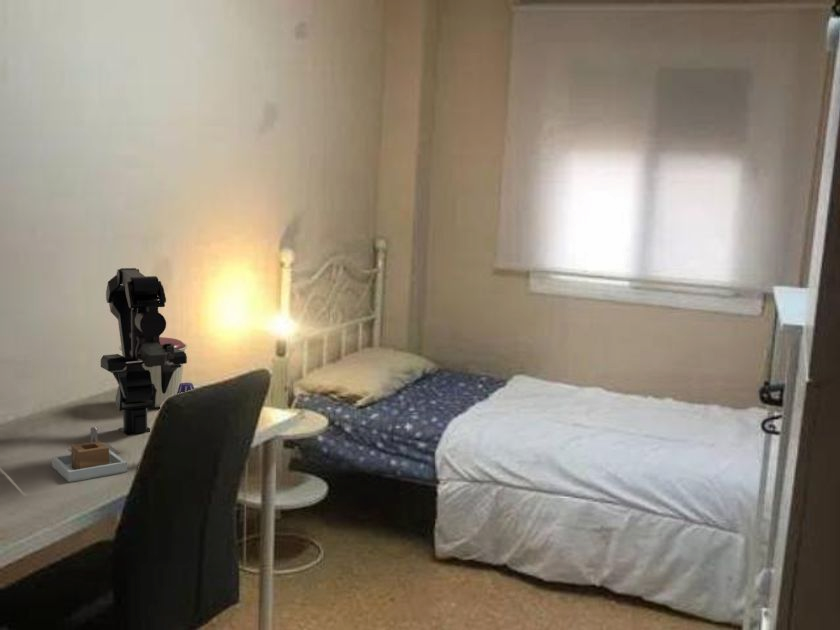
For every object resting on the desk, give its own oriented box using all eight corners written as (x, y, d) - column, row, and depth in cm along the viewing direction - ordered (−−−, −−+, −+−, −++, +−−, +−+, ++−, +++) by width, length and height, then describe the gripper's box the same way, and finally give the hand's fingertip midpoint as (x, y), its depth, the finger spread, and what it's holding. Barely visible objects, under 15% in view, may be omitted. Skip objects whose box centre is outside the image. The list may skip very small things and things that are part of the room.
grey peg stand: (68, 451, 204) (67, 426, 203) (107, 445, 209) (107, 420, 208) (80, 461, 197) (80, 435, 196) (121, 454, 202) (120, 429, 201)
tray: (52, 468, 191) (51, 456, 191) (107, 459, 199) (107, 448, 198) (69, 483, 182) (68, 472, 182) (126, 473, 189) (126, 462, 189)
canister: (201, 402, 251) (200, 329, 248) (151, 415, 236) (150, 337, 233) (157, 393, 261) (156, 322, 258) (106, 404, 246) (104, 329, 243)
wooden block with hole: (68, 464, 192) (67, 442, 191) (96, 460, 196) (95, 438, 195) (80, 475, 186) (80, 452, 185) (109, 470, 189) (108, 447, 188)
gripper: (116, 338, 194) (117, 408, 196) (196, 332, 206) (196, 397, 208) (99, 331, 203) (100, 397, 205) (177, 325, 214) (177, 388, 216)
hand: (144, 395), depth 208 cm, fingers open, 9 cm apart
